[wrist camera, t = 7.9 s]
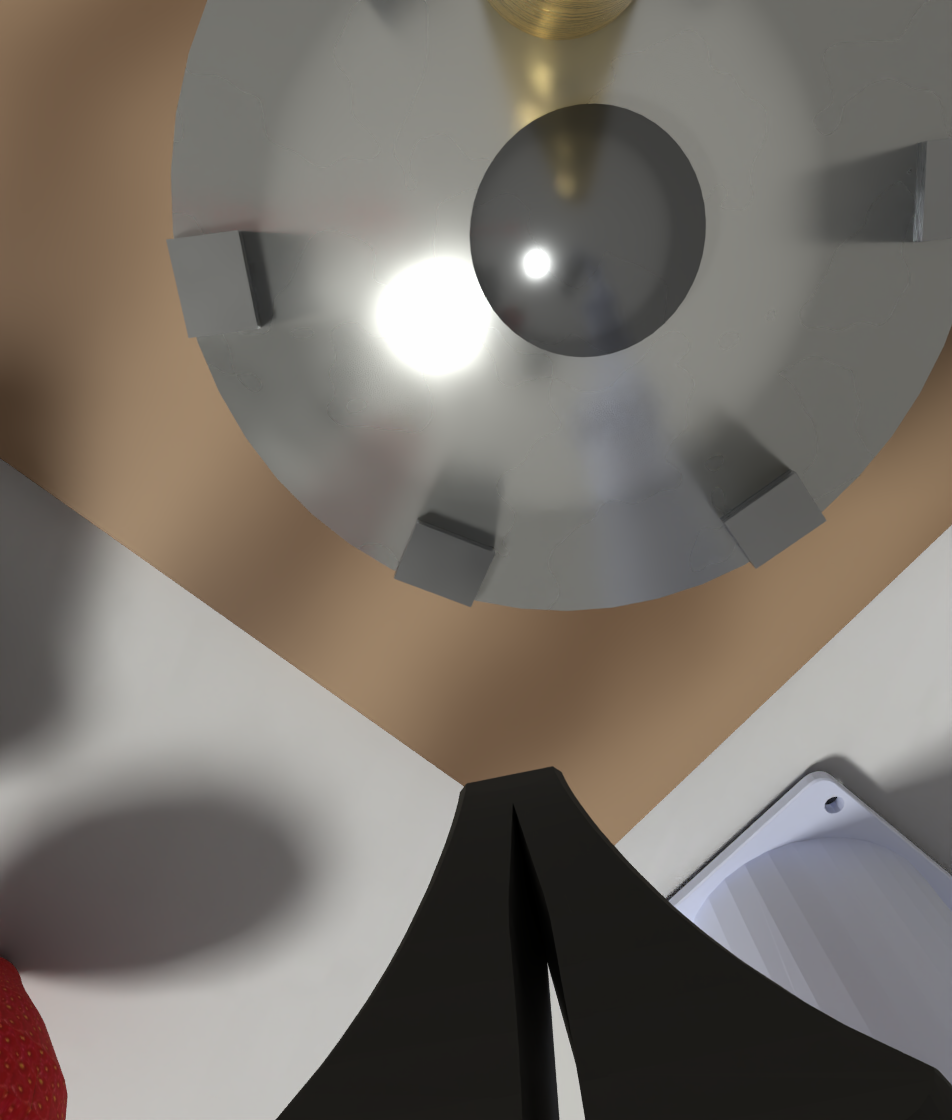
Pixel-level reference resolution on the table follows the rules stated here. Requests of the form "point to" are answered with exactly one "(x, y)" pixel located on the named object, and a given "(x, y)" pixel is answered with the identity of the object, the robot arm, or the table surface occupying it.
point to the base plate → (307, 543)
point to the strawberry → (26, 1057)
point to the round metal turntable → (566, 272)
